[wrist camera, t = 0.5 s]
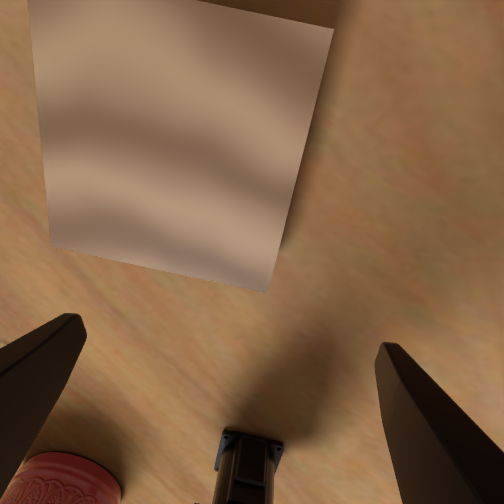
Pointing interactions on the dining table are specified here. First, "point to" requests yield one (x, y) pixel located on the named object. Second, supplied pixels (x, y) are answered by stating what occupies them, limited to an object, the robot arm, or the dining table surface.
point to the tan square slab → (173, 131)
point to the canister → (61, 482)
